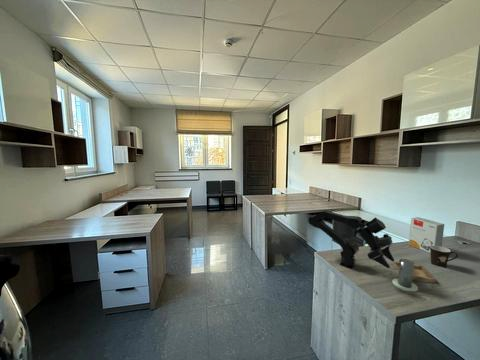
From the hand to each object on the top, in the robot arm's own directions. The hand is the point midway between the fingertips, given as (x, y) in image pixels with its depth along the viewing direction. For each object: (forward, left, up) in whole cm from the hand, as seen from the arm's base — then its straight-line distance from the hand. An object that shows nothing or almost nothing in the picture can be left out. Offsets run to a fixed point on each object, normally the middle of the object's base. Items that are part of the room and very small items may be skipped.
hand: (391, 264), depth 106 cm
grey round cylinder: (+6, 0, -8) cm, 10 cm away
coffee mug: (+17, +38, -9) cm, 43 cm away
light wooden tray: (+7, +15, -9) cm, 19 cm away
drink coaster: (+6, 0, -9) cm, 11 cm away
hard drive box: (+7, +59, -9) cm, 60 cm away
